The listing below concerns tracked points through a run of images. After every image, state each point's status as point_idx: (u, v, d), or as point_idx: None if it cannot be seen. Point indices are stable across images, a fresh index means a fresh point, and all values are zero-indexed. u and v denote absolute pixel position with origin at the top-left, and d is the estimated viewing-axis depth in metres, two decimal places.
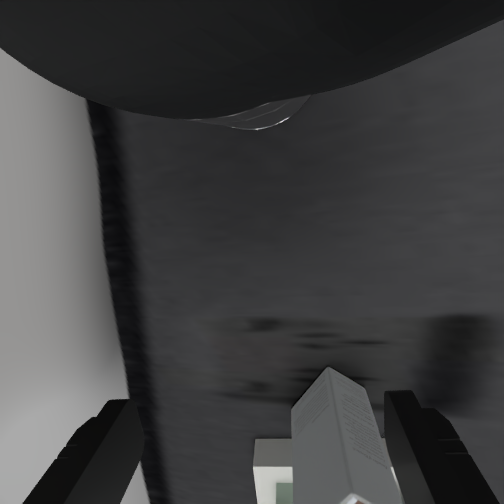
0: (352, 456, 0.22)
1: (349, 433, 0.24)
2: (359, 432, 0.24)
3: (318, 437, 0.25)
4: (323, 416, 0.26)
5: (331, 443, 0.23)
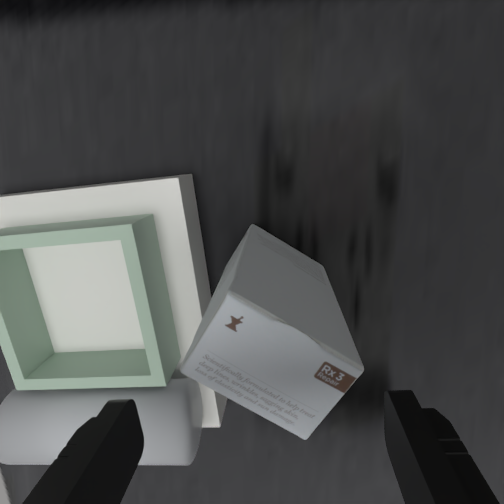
0: None
1: None
2: None
3: (304, 281, 0.18)
4: (315, 281, 0.19)
5: (328, 306, 0.17)
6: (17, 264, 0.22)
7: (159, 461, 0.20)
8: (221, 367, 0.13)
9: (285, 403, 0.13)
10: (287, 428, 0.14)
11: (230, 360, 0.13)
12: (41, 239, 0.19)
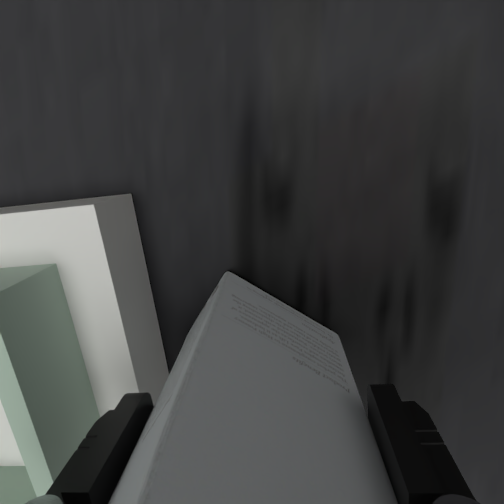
0: None
1: None
2: None
3: (314, 408, 0.09)
4: (332, 391, 0.11)
5: (365, 477, 0.08)
6: None
7: None
8: None
9: None
10: None
11: None
12: None
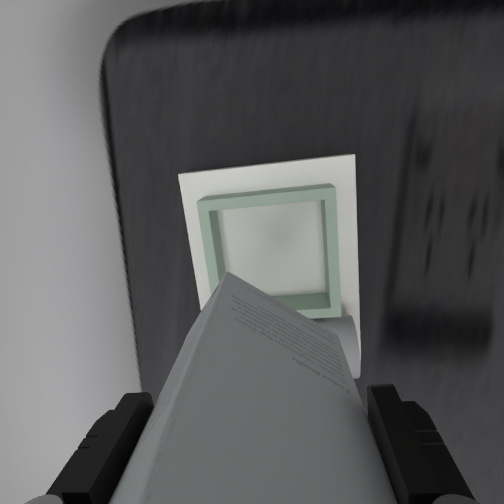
0: None
1: None
2: None
3: (313, 408, 0.09)
4: (332, 392, 0.11)
5: (366, 478, 0.08)
6: (216, 224, 0.28)
7: None
8: None
9: None
10: None
11: None
12: (261, 200, 0.25)
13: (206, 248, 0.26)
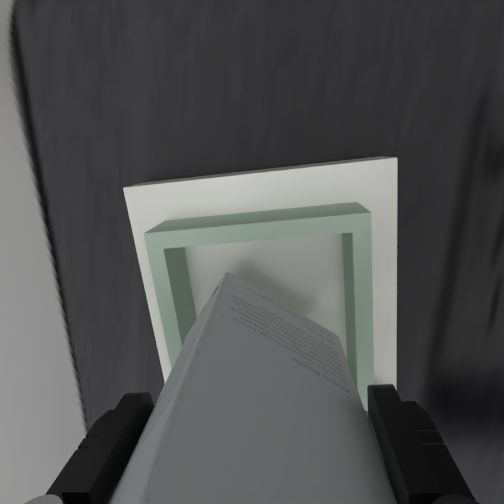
0: None
1: None
2: None
3: (313, 408, 0.09)
4: (332, 392, 0.11)
5: (366, 478, 0.08)
6: (182, 264, 0.18)
7: None
8: None
9: None
10: None
11: None
12: (247, 232, 0.15)
13: (162, 305, 0.17)
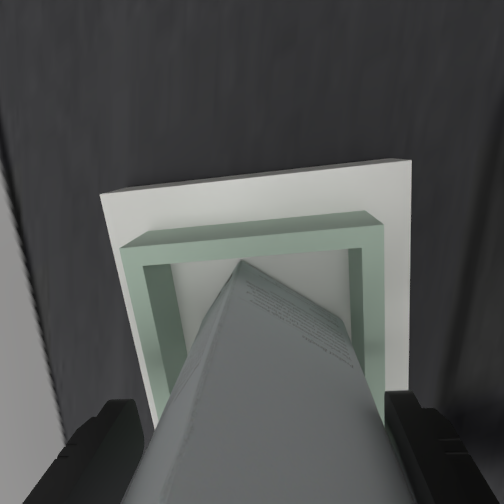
0: None
1: None
2: None
3: (322, 377, 0.11)
4: (338, 365, 0.12)
5: (368, 433, 0.09)
6: (167, 280, 0.16)
7: None
8: None
9: None
10: None
11: None
12: (239, 247, 0.13)
13: (142, 329, 0.15)
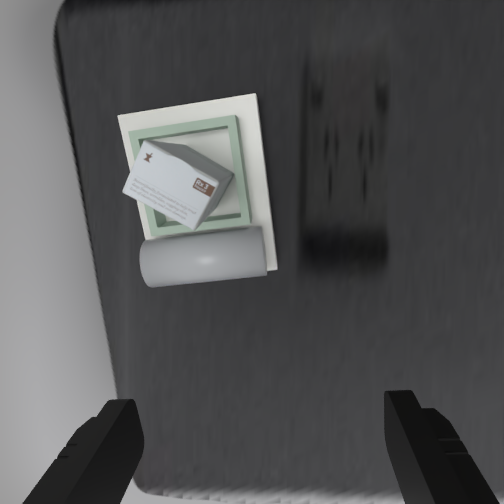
0: (220, 187, 0.27)
1: (222, 186, 0.29)
2: (218, 196, 0.30)
3: (205, 163, 0.29)
4: (216, 168, 0.30)
5: (216, 171, 0.28)
6: None
7: (249, 267, 0.33)
8: (143, 185, 0.24)
9: (179, 205, 0.24)
10: (183, 222, 0.25)
11: (148, 180, 0.24)
12: (178, 128, 0.32)
13: None
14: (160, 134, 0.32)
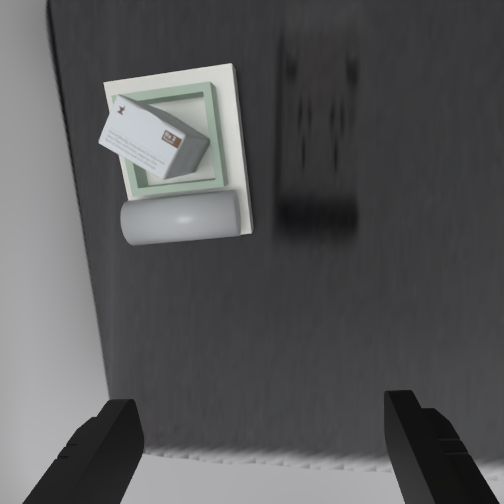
0: (190, 143, 0.29)
1: (194, 145, 0.31)
2: (191, 155, 0.32)
3: (179, 124, 0.31)
4: (191, 130, 0.33)
5: (188, 130, 0.30)
6: None
7: (221, 226, 0.35)
8: (117, 136, 0.27)
9: (149, 156, 0.27)
10: (153, 172, 0.27)
11: (121, 132, 0.26)
12: (157, 93, 0.34)
13: None
14: (141, 99, 0.34)
